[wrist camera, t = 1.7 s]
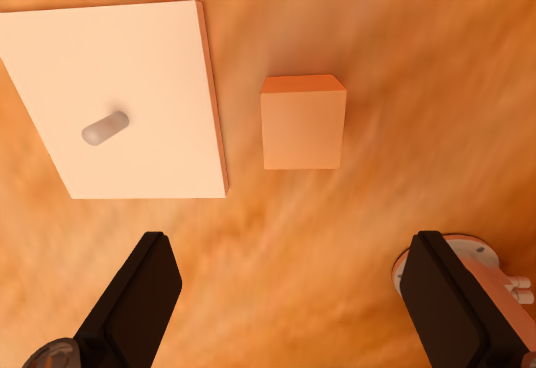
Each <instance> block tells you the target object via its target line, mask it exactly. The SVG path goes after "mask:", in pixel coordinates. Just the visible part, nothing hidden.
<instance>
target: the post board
mask: <svg viewBox="0 0 536 368" xmlns="http://www.w3.org/2000/svg"><path fill="white" fill-rule="evenodd" d="M0 57H1V59H2V61H3V63H4V65H5V67H6V69H7V71H8V73H9V75H10V77H11V79H12V81H13V83H14V85H15V87H16V89H17V91H18V93H19V95H20V97H21V99H22V101H23V103H24V105H25V107H26V109H27V111H28V113H29V114H30V116H31V118H32V120H33V122H34V124H35V126H36V128H37V130H38V132H39V134H40V136H41V138H42V140H43V142H44V144H45V146H46V148H47V150H48V152H49V154H50V156H51V158H52V160H53V162H54V164H55V166H56V168H57V170H58V172H59V174H60V176H61V178H62V180H63V182H64V184H65V186H66V188H67V190H68V192H69V194H70V196H71V198H72V199H109V198H226V195H227V192H228V190H229V185H228V178H227V171H226V164H225V157H224V150H223V143H222V136H221V129H220V122H219V115H218V108H217V101H216V94H215V87H214V80H213V73H212V66H211V60H210V53H209V46H208V39H207V32H206V25H205V18H204V11H203V4H202V2H199V1H196V0H193V1H177V2H162V3H147V4H132V5H116V6H101V7H86V8H70V9H55V10H40V11H25V12H9V13H0Z"/></svg>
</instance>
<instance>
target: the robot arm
mask: <svg viewBox="0 0 536 368" xmlns="http://www.w3.org/2000/svg"><path fill="white" fill-rule="evenodd" d="M392 281H393V284H394V287H395V289H396V291H397V292H398V294H399V295H400V296H401V297H403V300H404V302H405V304H406V307H407V309H408V312H409V314H410V316H411V319H412V321H413V323H414V326H415V328H416V330H417V333H418V335H419V337H420V340H421V342H422V344H423V347H424V349H425V352H426V354H427V356H428V359H429V361H430V363H431V366H432V368H536V323H535V322H534V320H533V319H532V318H531V317H530V316H529V314H528V313H527V312H526V311H525V310H524V308H523V307H522V306H521V305H520V304H532V303H533V302H534V295H533V293H532V292H531V290H529V289H528V288H529V287H530V286H531V282H530V280H529V278H528V277H526V276H507V275H505V274H504V273H503V272H502V271H501V270H500V269H499V259H498V256H497V255H496V253H495V252H494V250H493V249H492V248H491V247H490V246H489V245H488V244H487V243H485V242H483V241H482V240H480V239H477V238H474V237H471V236H465V235H446V236H442V235H441V233H440V232H439V231H419V232H418V234H417V235H414V236H413V239H412V242H411V246H410V249H409V250H408V251H406V252H405V253H404V254H403V255H402V256H401V257H400V258H399V259H398V260H397V262H396V264H395V265H394V268H393V271H392ZM181 289H182V279H181V276H180V273H179V270H178V267H177V264H176V260H175V257H174V254H173V251H172V248H171V245H170V242H169V239H168V236H167V235H164V234H163V232H146V233H145V234H144V235H143V236H142V238H141V239H140V241H139V242H138V244H137V245H136V247H135V248H134V250H133V251H132V253H131V254H130V256H129V257H128V259H127V260H126V261H125V263H124V264H123V266H122V267H121V269H120V270H119V271H118V272H117V274H116V275H115V277H114V278H113V280H112V281H111V283H110V284H109V285H108V287H107V288H106V290H105V291H104V293H103V294H102V296H101V297H100V299H99V300H98V302H97V303H96V305H95V306H94V308H93V309H92V310H91V312H90V313H89V315H88V316H87V318H86V319H85V321H84V322H83V324H82V325H81V327H80V328H79V330H78V331H77V333H76V334H75V336H74V337H73V338H66V337H65V338H60V339H56V340H54V341H51V342H49V343H47V344H46V345H44V346H42V347H41V348H39V349H38V350H37V351H36V352H35V353H34V354H32V355H31V356H30V358H29V359H28V360H27V361H26V362H25V363H24V365H23V367H22V368H151V366H152V363H153V361H154V358H155V355H156V353H157V350H158V348H159V345H160V343H161V340H162V338H163V335H164V333H165V330H166V328H167V325H168V322H169V320H170V317H171V315H172V312H173V310H174V307H175V305H176V302H177V300H178V297H179V295H180V292H181Z"/></svg>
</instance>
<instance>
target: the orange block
mask: <svg viewBox="0 0 536 368" xmlns="http://www.w3.org/2000/svg"><path fill="white" fill-rule="evenodd" d="M346 97H347V90H346V89H345V87H344V86H343V85H342V84H341V83H340V82H339V81H338V80H337V79H336V78H335V77H334V76H333V74H325V75H301V76H277V77H266V79H265V82H264V84H263V87H262V89H261V92H260V105H261V121H262V137H263V153H264V169H265V170H274V169H340V159H341V148H342V138H343V128H344V118H345V107H346Z"/></svg>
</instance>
